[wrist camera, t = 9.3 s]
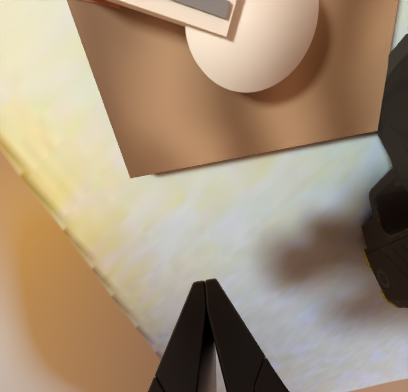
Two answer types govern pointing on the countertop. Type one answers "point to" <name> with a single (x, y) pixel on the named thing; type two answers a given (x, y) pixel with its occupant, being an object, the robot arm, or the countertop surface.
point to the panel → (226, 99)
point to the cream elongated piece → (240, 36)
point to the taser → (392, 187)
